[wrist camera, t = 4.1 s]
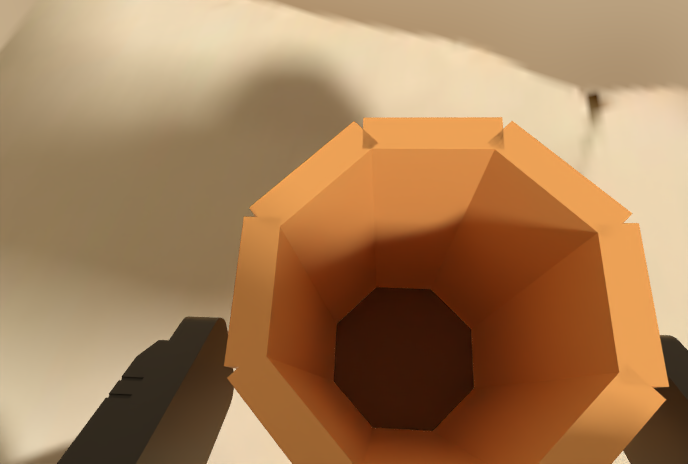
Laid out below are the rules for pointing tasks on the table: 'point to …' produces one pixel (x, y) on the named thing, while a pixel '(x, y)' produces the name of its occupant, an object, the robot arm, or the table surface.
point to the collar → (449, 295)
